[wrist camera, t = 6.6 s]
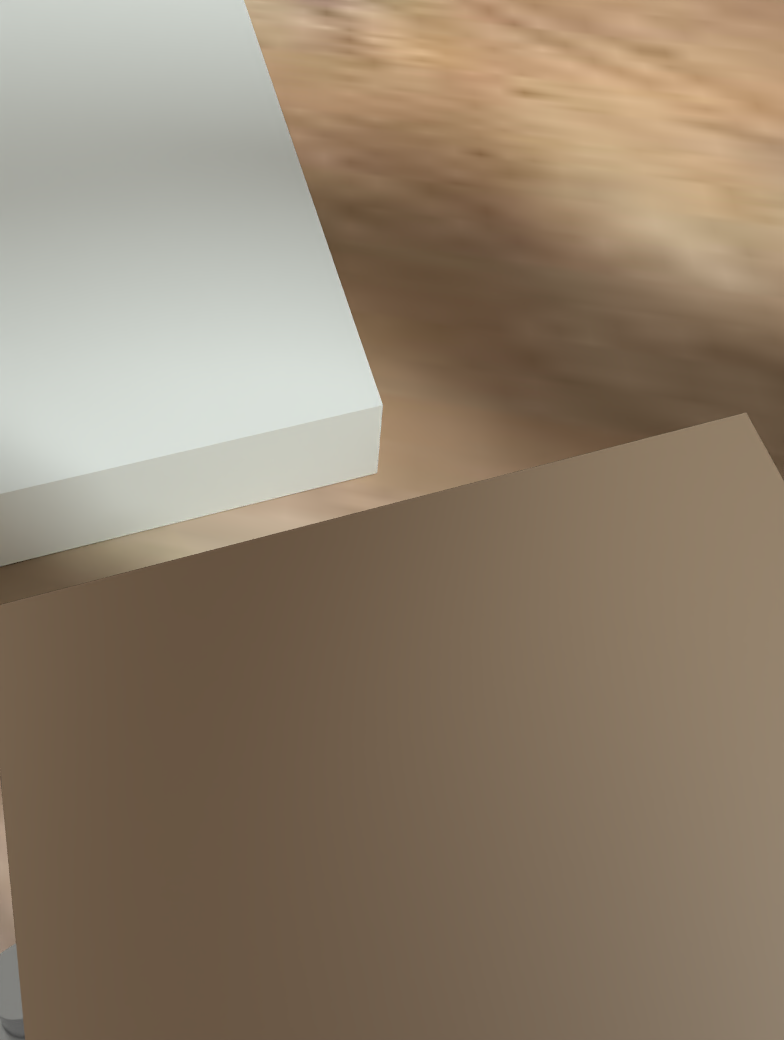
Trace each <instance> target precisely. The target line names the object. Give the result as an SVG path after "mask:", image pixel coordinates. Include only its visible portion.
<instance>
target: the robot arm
mask: <svg viewBox="0 0 784 1040" xmlns="http://www.w3.org/2000/svg"><path fill="white" fill-rule="evenodd" d="M0 1040H25V1034H24V1023H23V1012H22V1002H21V991H20V980H19V969H18V959H17V948H16V944H14V945H13V946H11V947H9V948H8V949H6V950H5V951H3V952H2V953H1V954H0Z"/></svg>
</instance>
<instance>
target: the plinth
mask: <svg viewBox="0 0 784 1040" xmlns="http://www.w3.org/2000/svg"><path fill="white" fill-rule="evenodd" d="M382 409H383V404H382V401H381V399H380V396H379V393H378V390H377V387H376V384H375V381H374V378H373V375H372V372H371V369H370V366H369V364H368V361H367V358H366V355H365V352H364V349H363V346H362V343H361V340H360V337H359V334H358V332H357V329H356V326H355V323H354V320H353V317H352V314H351V311H350V308H349V305H348V302H347V299H346V297H345V294H344V291H343V288H342V285H341V282H340V279H339V276H338V273H337V270H336V267H335V265H334V262H333V259H332V256H331V253H330V250H329V247H328V244H327V241H326V238H325V235H324V233H323V230H322V227H321V224H320V221H319V218H318V215H317V212H316V209H315V206H314V203H313V200H312V198H311V195H310V192H309V189H308V186H307V183H306V180H305V177H304V174H303V171H302V168H301V166H300V163H299V160H298V157H297V154H296V151H295V148H294V145H293V142H292V139H291V136H290V134H289V131H288V128H287V125H286V122H285V119H284V116H283V113H282V110H281V107H280V104H279V101H278V99H277V96H276V93H275V90H274V87H273V84H272V81H271V78H270V75H269V72H268V69H267V67H266V64H265V61H264V58H263V55H262V52H261V49H260V46H259V43H258V40H257V37H256V35H255V32H254V29H253V26H252V23H251V20H250V17H249V14H248V11H247V8H246V5H245V2H244V0H0V566H4V565H8V564H12V563H16V562H20V561H24V560H28V559H32V558H36V557H40V556H44V555H48V554H52V553H56V552H60V551H64V550H68V549H72V548H76V547H80V546H84V545H88V544H93V543H97V542H101V541H105V540H109V539H113V538H117V537H121V536H125V535H129V534H133V533H137V532H141V531H145V530H149V529H153V528H157V527H161V526H165V525H169V524H173V523H177V522H181V521H185V520H189V519H193V518H197V517H201V516H206V515H210V514H214V513H218V512H222V511H226V510H230V509H234V508H238V507H242V506H246V505H250V504H254V503H258V502H262V501H266V500H270V499H274V498H278V497H282V496H286V495H290V494H294V493H298V492H302V491H306V490H310V489H314V488H319V487H323V486H327V485H331V484H335V483H339V482H343V481H347V480H351V479H355V478H359V477H363V476H367V475H371V474H375V473H377V467H378V455H379V444H380V432H381V420H382Z"/></svg>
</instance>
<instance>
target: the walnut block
mask: <svg viewBox="0 0 784 1040" xmlns="http://www.w3.org/2000/svg"><path fill="white" fill-rule="evenodd" d="M0 777H1V788H2V799H3V809H4V820H5V831H6V841H7V852H8V863H9V873H10V884H11V895H12V905H13V916H14V927H15V937H16V948H17V959H18V969H19V980H20V991H21V1002H22V1012H23V1023H24V1034H25V1040H784V480H783V478H782V477H781V475H780V473H779V471H778V469H777V467H776V466H775V464H774V462H773V460H772V458H771V456H770V455H769V453H768V451H767V449H766V447H765V446H764V444H763V442H762V440H761V438H760V436H759V435H758V433H757V431H756V429H755V427H754V426H753V424H752V422H751V420H750V418H749V416H748V415H747V413H742V414H738V415H734V416H730V417H726V418H722V419H719V420H715V421H711V422H707V423H703V424H699V425H695V426H691V427H688V428H684V429H680V430H676V431H672V432H668V433H664V434H660V435H657V436H653V437H649V438H645V439H641V440H637V441H633V442H629V443H625V444H622V445H618V446H614V447H610V448H606V449H602V450H598V451H594V452H591V453H587V454H583V455H579V456H575V457H571V458H567V459H563V460H560V461H556V462H552V463H548V464H544V465H540V466H536V467H532V468H529V469H525V470H521V471H517V472H513V473H509V474H505V475H501V476H497V477H494V478H490V479H486V480H482V481H478V482H474V483H470V484H466V485H463V486H459V487H455V488H451V489H447V490H443V491H439V492H435V493H432V494H428V495H424V496H420V497H416V498H412V499H408V500H404V501H400V502H397V503H393V504H389V505H385V506H381V507H377V508H373V509H369V510H366V511H362V512H358V513H354V514H350V515H346V516H342V517H338V518H335V519H331V520H327V521H323V522H319V523H315V524H311V525H307V526H304V527H300V528H296V529H292V530H288V531H284V532H280V533H276V534H272V535H269V536H265V537H261V538H257V539H253V540H249V541H245V542H241V543H238V544H234V545H230V546H226V547H222V548H218V549H214V550H210V551H207V552H203V553H199V554H195V555H191V556H187V557H183V558H179V559H176V560H172V561H168V562H164V563H160V564H156V565H152V566H148V567H144V568H141V569H137V570H133V571H129V572H125V573H121V574H117V575H113V576H110V577H106V578H102V579H98V580H94V581H90V582H86V583H82V584H79V585H75V586H71V587H67V588H63V589H59V590H55V591H51V592H48V593H44V594H40V595H36V596H32V597H28V598H24V599H20V600H16V601H13V602H9V603H5V604H1V605H0Z"/></svg>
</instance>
